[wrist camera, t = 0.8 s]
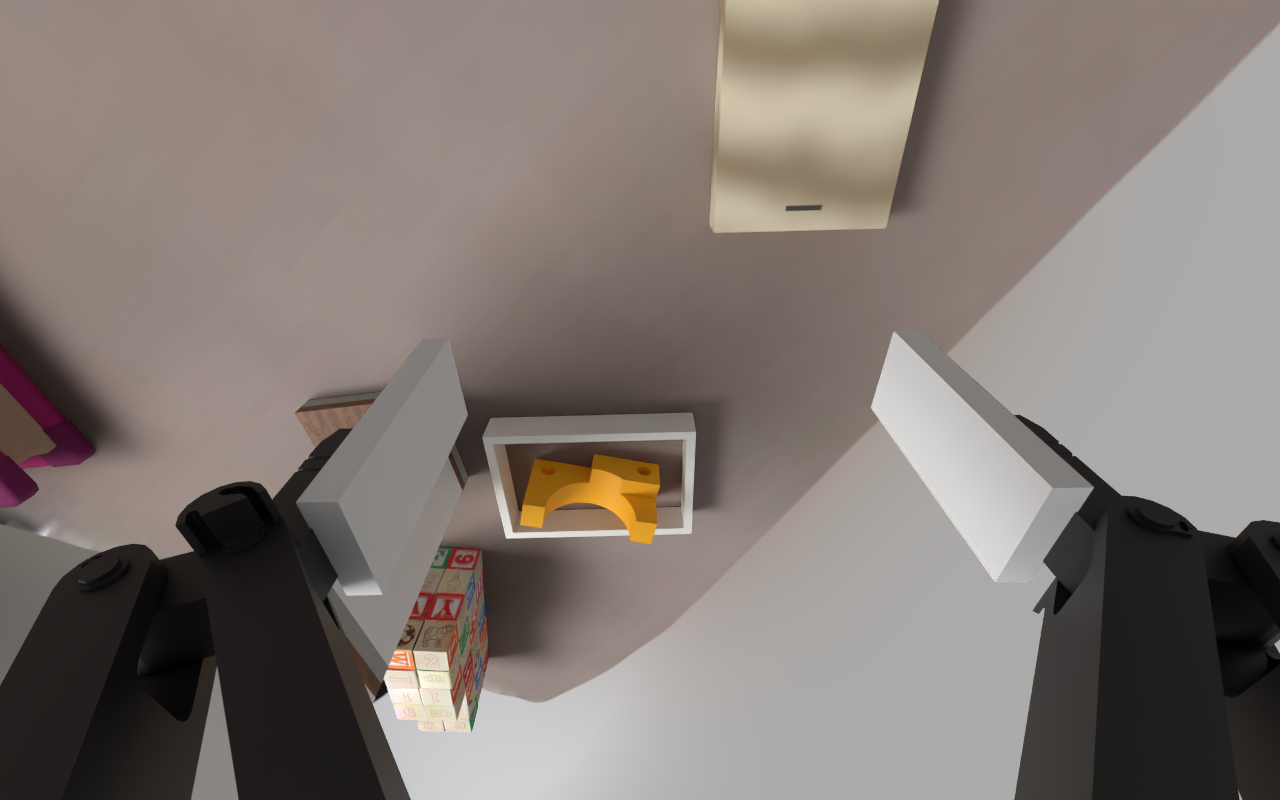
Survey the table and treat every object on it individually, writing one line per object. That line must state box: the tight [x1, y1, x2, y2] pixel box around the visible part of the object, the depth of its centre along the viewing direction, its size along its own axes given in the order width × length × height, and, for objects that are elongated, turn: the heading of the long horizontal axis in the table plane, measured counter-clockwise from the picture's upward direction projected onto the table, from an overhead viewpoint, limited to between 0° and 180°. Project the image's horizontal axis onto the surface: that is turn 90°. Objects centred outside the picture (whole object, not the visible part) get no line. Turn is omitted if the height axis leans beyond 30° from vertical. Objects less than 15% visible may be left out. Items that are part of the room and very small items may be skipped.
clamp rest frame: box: [482, 413, 696, 539], centre depth 48 cm, size 13×19×3 cm
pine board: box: [709, 0, 939, 233], centre depth 30 cm, size 22×12×3 cm, turn 1°
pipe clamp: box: [520, 454, 660, 544], centre depth 47 cm, size 12×4×6 cm, turn 77°
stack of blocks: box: [384, 547, 489, 732], centre depth 55 cm, size 21×6×12 cm, turn 174°
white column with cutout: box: [158, 392, 468, 800], centre depth 32 cm, size 11×11×35 cm
